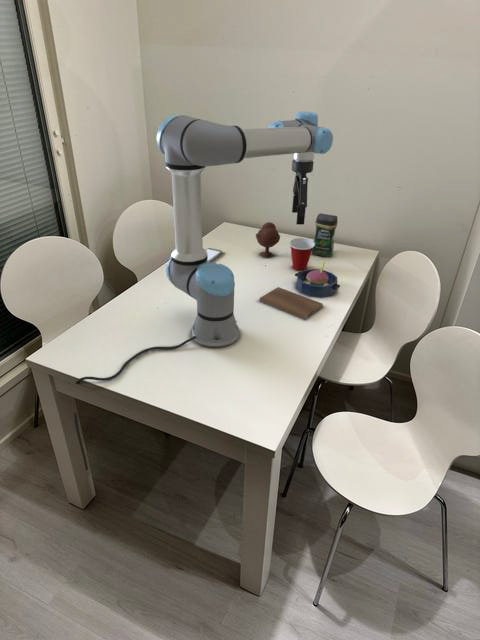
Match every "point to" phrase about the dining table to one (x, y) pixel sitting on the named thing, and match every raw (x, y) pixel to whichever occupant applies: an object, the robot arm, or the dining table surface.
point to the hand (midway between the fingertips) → (297, 218)
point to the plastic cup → (301, 252)
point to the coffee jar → (324, 235)
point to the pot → (313, 289)
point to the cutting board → (291, 303)
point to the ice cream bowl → (267, 238)
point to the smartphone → (213, 254)
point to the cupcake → (317, 277)
